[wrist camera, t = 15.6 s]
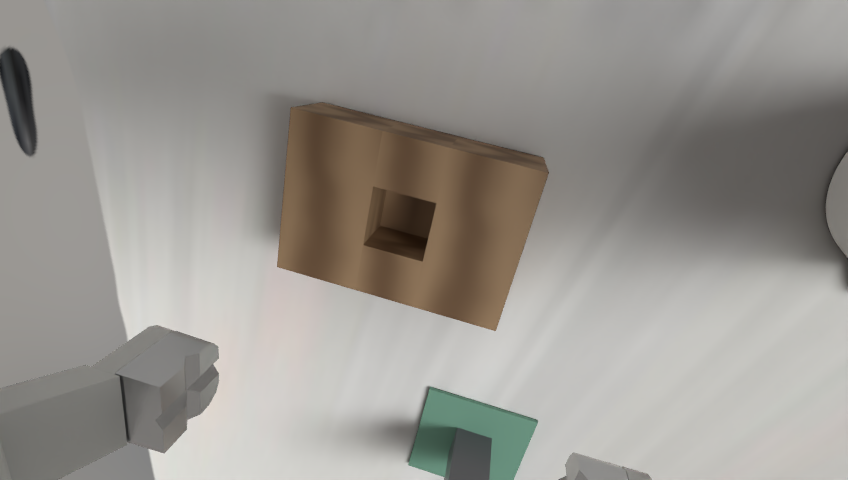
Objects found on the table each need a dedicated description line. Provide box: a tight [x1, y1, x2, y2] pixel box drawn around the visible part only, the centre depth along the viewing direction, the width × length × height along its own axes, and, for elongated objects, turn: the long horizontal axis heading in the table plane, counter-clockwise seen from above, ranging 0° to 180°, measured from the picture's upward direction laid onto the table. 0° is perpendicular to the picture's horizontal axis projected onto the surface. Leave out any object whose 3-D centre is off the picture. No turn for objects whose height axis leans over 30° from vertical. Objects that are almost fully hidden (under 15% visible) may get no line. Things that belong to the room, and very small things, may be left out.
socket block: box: [277, 102, 549, 331], centre depth 38 cm, size 20×14×6 cm
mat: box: [408, 387, 538, 480], centre depth 49 cm, size 12×12×1 cm
